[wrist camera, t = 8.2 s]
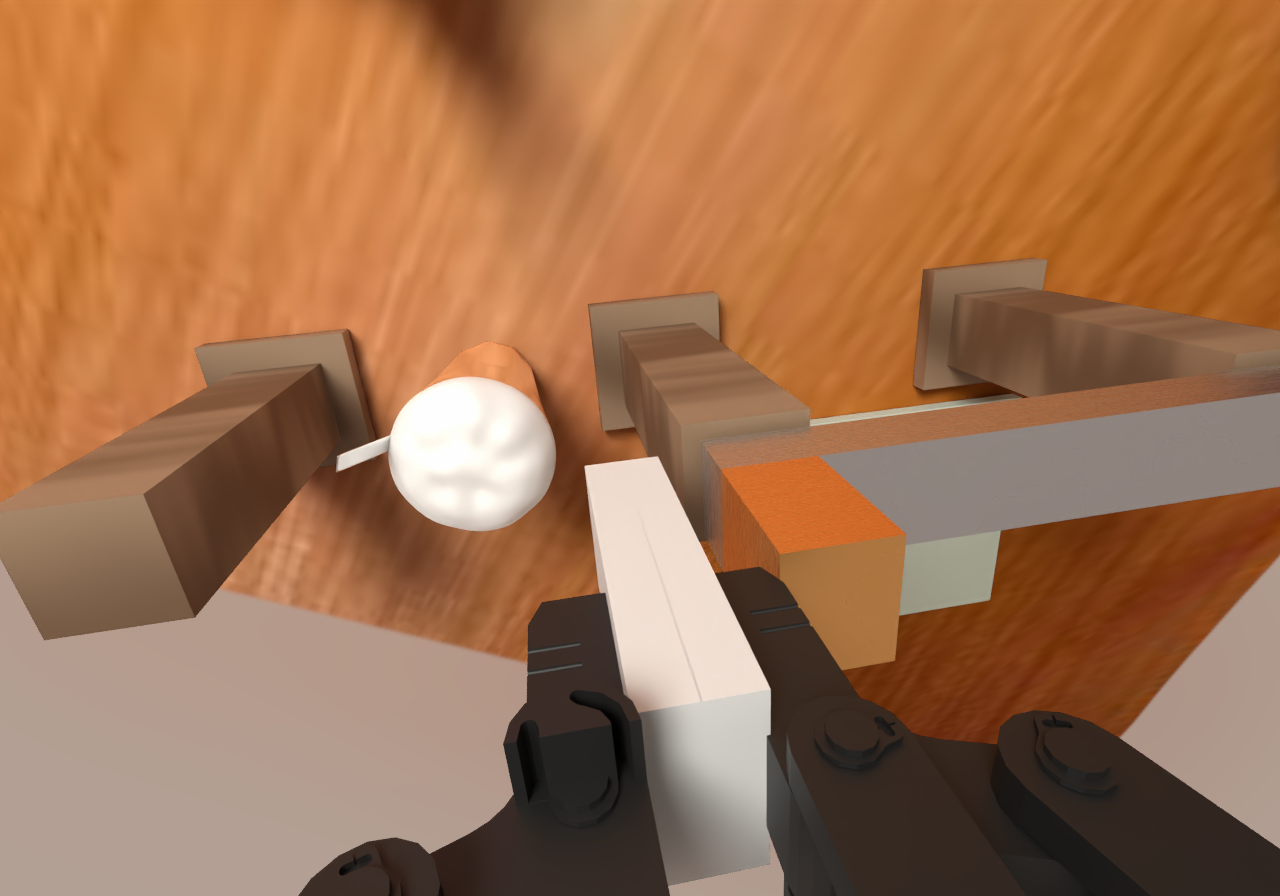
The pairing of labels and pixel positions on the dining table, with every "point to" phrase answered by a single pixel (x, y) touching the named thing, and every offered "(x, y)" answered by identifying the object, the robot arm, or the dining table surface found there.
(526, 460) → the milkshake
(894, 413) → the mat
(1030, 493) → the bar
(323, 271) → the dining table surface
